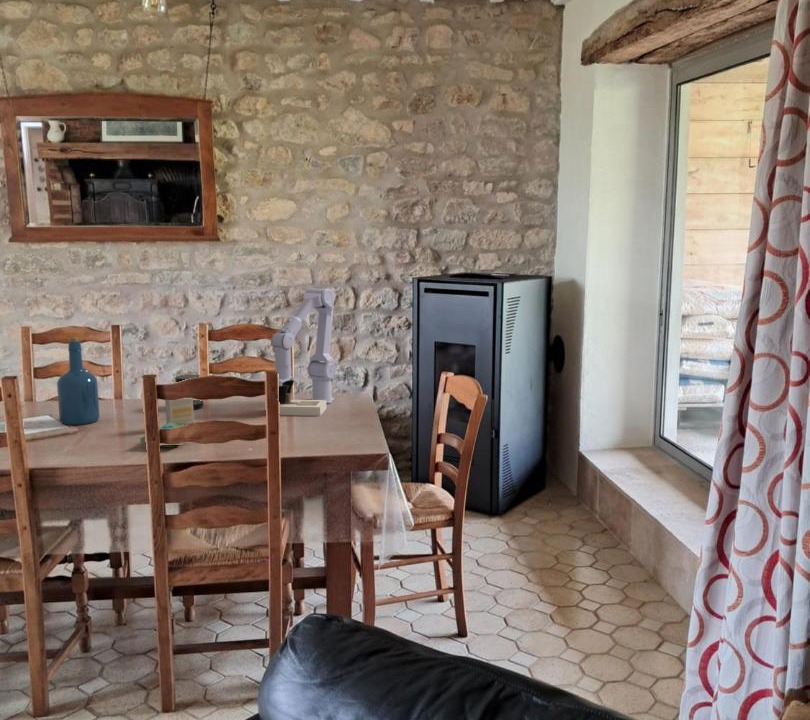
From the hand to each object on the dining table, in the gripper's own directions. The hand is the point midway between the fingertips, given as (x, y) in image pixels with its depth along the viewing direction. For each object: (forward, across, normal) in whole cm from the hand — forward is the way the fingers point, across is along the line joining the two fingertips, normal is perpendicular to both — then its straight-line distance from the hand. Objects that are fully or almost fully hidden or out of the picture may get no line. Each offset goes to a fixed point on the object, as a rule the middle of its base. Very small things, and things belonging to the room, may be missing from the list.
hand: (284, 401), depth 300 cm
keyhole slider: (+3, 0, 0) cm, 3 cm away
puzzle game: (+4, -44, +25) cm, 51 cm away
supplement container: (+4, +4, +38) cm, 38 cm away
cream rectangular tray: (+4, 0, -4) cm, 6 cm away
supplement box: (+4, -27, +29) cm, 40 cm away
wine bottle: (+4, -20, +68) cm, 71 cm away
